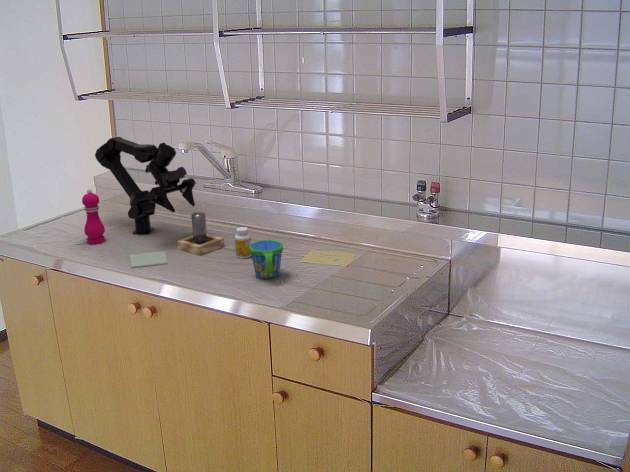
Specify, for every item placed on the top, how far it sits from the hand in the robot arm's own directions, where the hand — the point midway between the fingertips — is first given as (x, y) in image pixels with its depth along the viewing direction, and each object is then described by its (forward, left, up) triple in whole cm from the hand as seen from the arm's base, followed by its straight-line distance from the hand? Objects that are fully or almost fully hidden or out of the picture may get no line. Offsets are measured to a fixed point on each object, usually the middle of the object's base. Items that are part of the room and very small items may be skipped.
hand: (184, 208), depth 248 cm
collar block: (+4, +6, -13) cm, 15 cm away
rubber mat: (+17, -9, -13) cm, 23 cm away
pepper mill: (-2, -35, -13) cm, 38 cm away
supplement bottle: (+12, +23, -13) cm, 29 cm away
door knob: (+4, +6, -13) cm, 15 cm away
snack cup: (+30, +34, -13) cm, 47 cm away
